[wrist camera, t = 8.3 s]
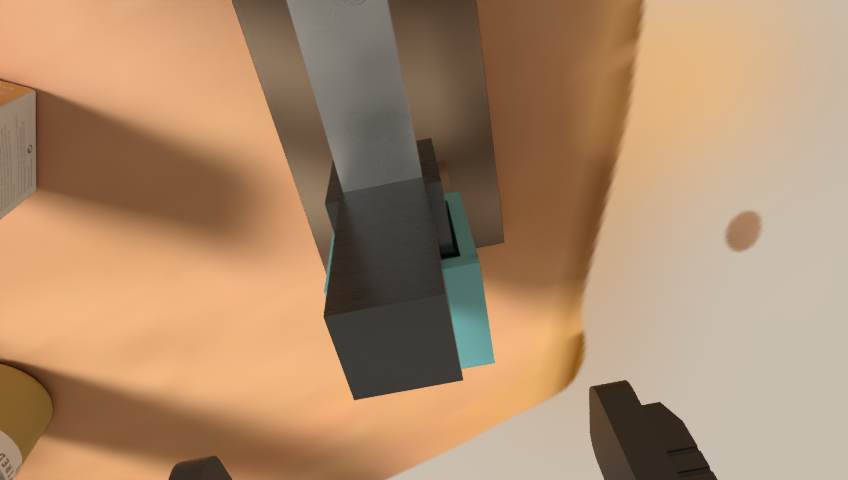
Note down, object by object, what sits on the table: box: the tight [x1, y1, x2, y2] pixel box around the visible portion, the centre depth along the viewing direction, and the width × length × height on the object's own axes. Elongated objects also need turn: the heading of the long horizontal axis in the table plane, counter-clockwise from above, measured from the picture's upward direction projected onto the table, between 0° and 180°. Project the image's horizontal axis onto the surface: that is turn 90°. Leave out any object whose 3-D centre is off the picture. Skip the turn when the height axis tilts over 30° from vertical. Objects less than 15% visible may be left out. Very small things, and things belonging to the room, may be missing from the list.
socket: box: [324, 191, 495, 369], centre depth 22 cm, size 5×6×6 cm
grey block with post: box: [286, 0, 463, 400], centre depth 15 cm, size 19×4×10 cm, turn 10°
